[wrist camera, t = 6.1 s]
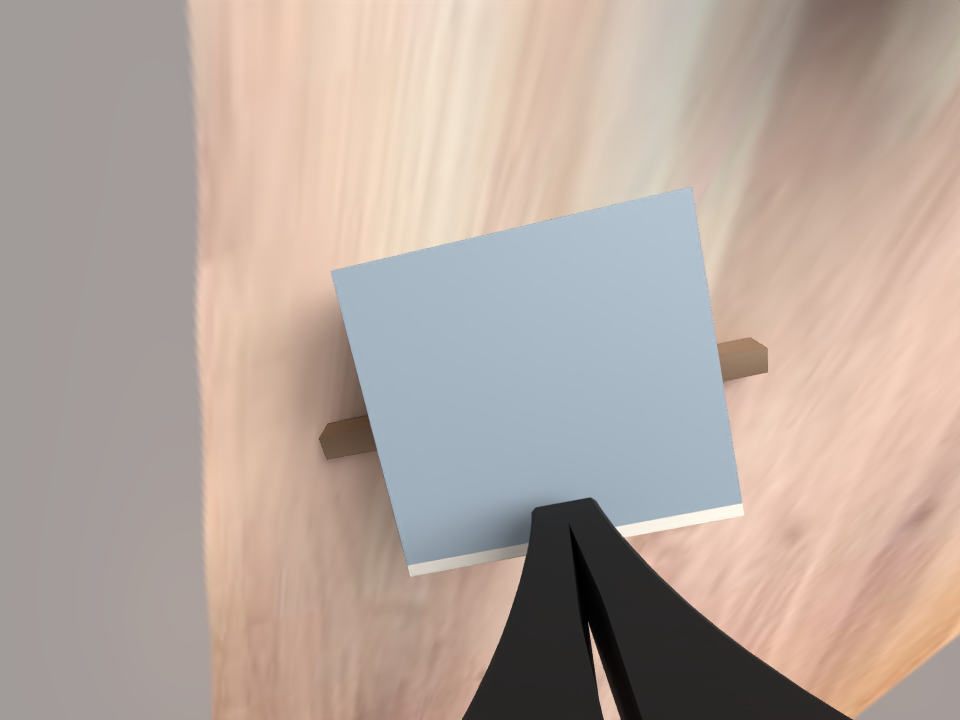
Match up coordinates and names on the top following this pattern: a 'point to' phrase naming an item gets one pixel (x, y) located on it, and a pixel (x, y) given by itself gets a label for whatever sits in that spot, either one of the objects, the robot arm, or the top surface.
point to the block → (544, 380)
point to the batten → (359, 438)
